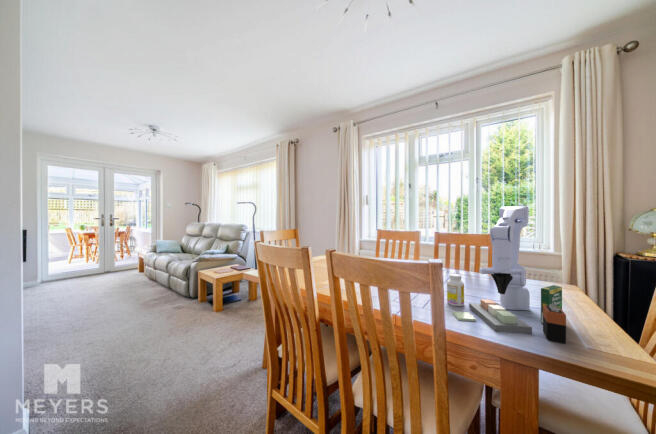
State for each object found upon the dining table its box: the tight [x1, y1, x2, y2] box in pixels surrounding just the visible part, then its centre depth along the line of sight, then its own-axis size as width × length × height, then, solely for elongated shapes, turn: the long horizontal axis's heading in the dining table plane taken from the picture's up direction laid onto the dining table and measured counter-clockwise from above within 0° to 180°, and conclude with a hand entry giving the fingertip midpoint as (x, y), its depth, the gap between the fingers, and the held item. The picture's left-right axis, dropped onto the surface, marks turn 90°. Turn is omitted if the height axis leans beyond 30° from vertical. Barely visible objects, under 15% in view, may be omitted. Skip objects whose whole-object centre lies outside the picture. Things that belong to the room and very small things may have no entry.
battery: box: [542, 304, 567, 345], centre depth 75 cm, size 4×7×10 cm, turn 146°
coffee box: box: [540, 284, 563, 325], centre depth 85 cm, size 8×3×13 cm, turn 111°
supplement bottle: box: [446, 273, 465, 307], centre depth 103 cm, size 7×7×13 cm
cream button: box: [488, 304, 507, 316], centre depth 88 cm, size 4×4×3 cm
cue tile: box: [452, 311, 477, 322], centre depth 90 cm, size 6×6×1 cm
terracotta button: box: [480, 298, 498, 310], centre depth 94 cm, size 4×4×3 cm
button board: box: [468, 302, 533, 334], centre depth 88 cm, size 11×20×2 cm, turn 171°
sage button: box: [497, 310, 517, 324], centre depth 82 cm, size 4×4×3 cm
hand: (501, 293), depth 89 cm, fingers closed
